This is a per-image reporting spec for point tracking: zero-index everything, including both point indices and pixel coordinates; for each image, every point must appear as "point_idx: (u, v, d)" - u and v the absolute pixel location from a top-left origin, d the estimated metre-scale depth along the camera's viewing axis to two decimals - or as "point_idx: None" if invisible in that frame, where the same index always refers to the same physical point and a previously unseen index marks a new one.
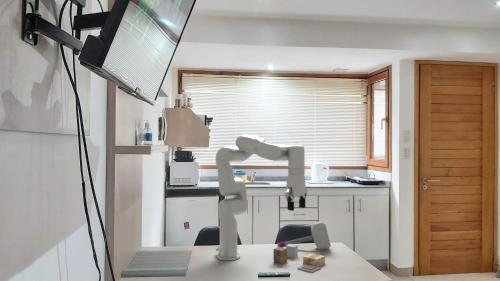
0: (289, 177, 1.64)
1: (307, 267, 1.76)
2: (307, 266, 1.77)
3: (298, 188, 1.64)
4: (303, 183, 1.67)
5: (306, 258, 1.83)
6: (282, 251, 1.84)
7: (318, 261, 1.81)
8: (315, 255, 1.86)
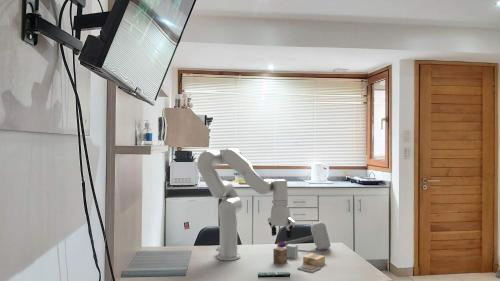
0: (287, 208, 1.84)
1: (307, 267, 1.76)
2: (307, 266, 1.77)
3: None
4: None
5: (306, 258, 1.83)
6: (282, 251, 1.84)
7: (318, 261, 1.81)
8: (315, 255, 1.86)
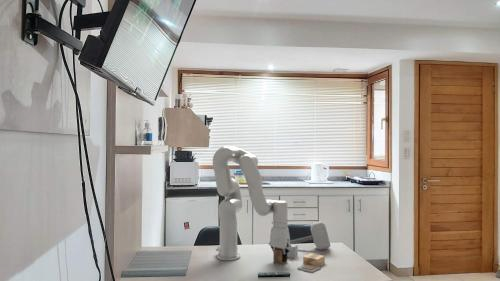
0: (286, 231, 1.84)
1: (307, 267, 1.76)
2: (307, 266, 1.77)
3: None
4: None
5: (306, 258, 1.83)
6: (282, 251, 1.84)
7: (319, 261, 1.81)
8: (315, 255, 1.86)
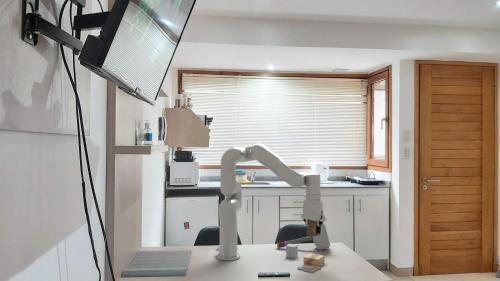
0: (320, 202, 1.82)
1: (307, 267, 1.76)
2: (307, 266, 1.77)
3: None
4: None
5: (307, 258, 1.83)
6: (316, 223, 1.83)
7: (319, 260, 1.81)
8: (315, 255, 1.86)
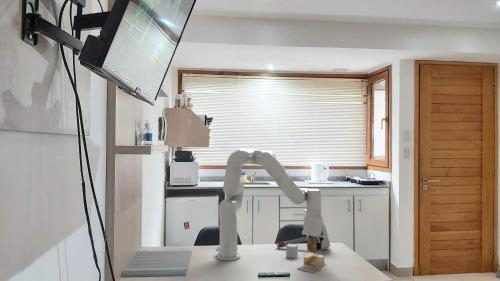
0: (320, 219, 1.82)
1: (307, 267, 1.76)
2: (307, 266, 1.77)
3: None
4: None
5: (307, 258, 1.83)
6: (316, 239, 1.82)
7: (319, 261, 1.81)
8: (314, 255, 1.87)
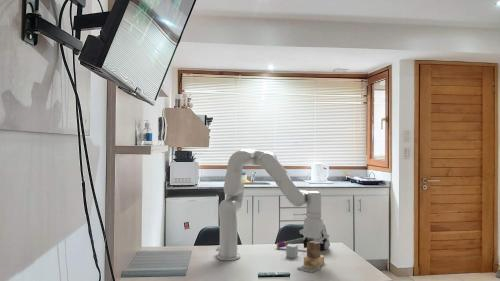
0: (320, 221, 1.82)
1: (307, 267, 1.76)
2: (307, 266, 1.77)
3: None
4: None
5: (307, 259, 1.82)
6: (316, 245, 1.82)
7: (320, 261, 1.81)
8: None
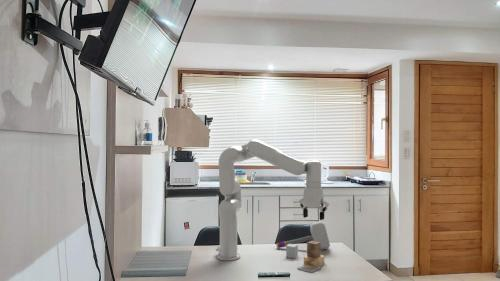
0: (320, 190, 1.82)
1: (307, 267, 1.76)
2: (307, 266, 1.77)
3: None
4: None
5: (307, 259, 1.82)
6: (316, 244, 1.83)
7: (320, 261, 1.81)
8: None
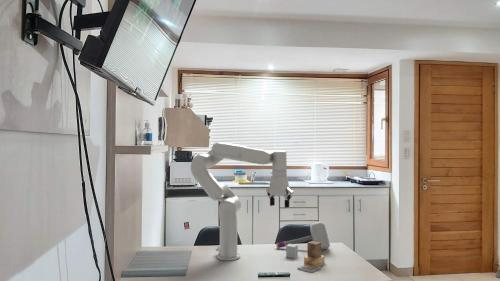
0: (285, 178, 1.87)
1: (307, 267, 1.76)
2: (307, 266, 1.77)
3: None
4: None
5: (307, 259, 1.82)
6: (316, 245, 1.82)
7: (320, 261, 1.81)
8: None
